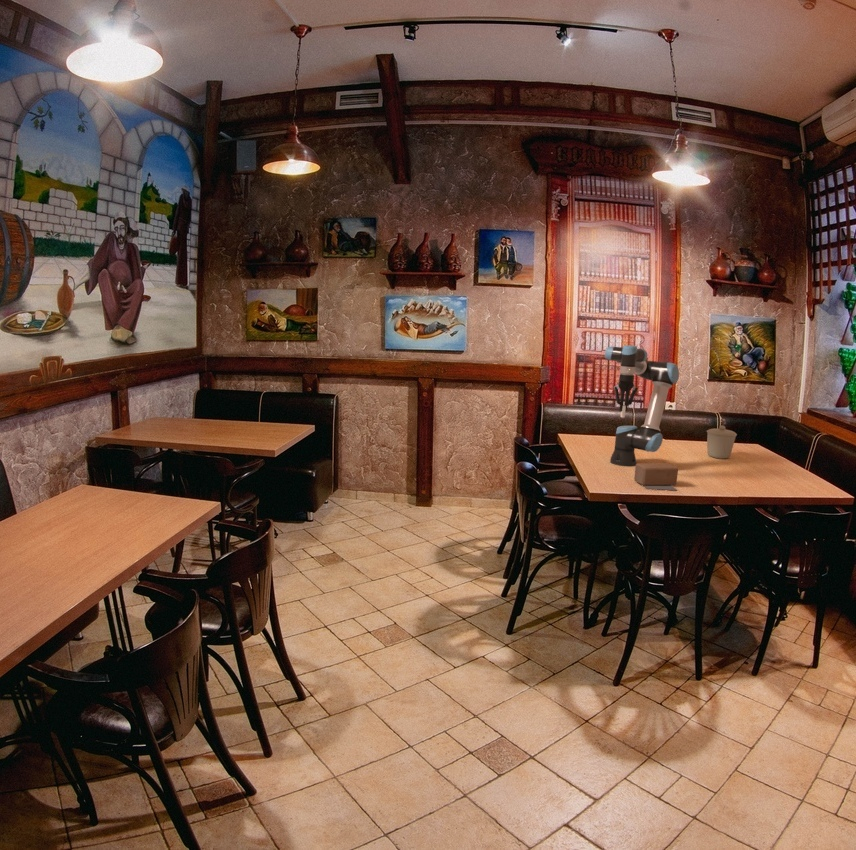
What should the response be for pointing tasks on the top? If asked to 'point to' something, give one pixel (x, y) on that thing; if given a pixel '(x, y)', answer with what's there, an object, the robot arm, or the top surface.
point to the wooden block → (656, 474)
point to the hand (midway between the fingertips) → (622, 417)
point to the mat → (660, 487)
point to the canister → (720, 442)
